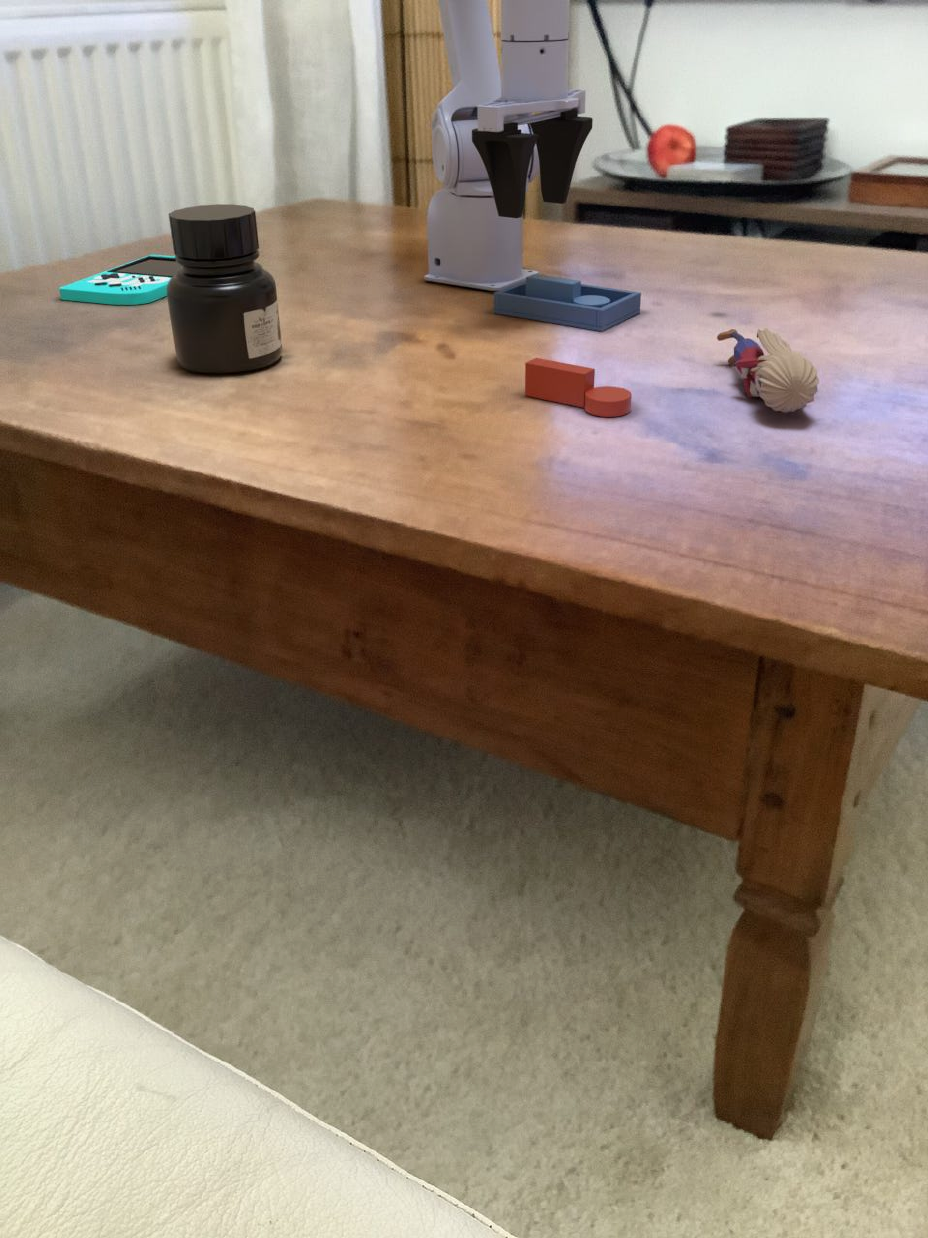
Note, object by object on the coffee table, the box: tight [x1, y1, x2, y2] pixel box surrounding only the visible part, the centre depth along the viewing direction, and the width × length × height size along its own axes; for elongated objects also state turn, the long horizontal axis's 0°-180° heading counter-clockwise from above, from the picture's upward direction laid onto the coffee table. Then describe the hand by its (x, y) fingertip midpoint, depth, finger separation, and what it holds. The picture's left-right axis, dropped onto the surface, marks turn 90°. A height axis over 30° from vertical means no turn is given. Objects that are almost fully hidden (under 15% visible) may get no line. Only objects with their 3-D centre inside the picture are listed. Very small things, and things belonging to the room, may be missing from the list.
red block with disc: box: [524, 357, 633, 418], centre depth 84 cm, size 8×3×3 cm, turn 54°
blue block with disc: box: [526, 274, 610, 308], centre depth 105 cm, size 8×3×3 cm, turn 54°
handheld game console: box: [58, 254, 182, 306], centre depth 119 cm, size 10×16×1 cm, turn 158°
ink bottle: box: [166, 203, 283, 374], centre depth 93 cm, size 10×9×12 cm
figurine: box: [716, 328, 820, 414], centre depth 85 cm, size 6×4×15 cm
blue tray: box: [493, 281, 642, 332], centre depth 106 cm, size 12×7×2 cm, turn 54°
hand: (532, 209), depth 102 cm, fingers open, 7 cm apart
